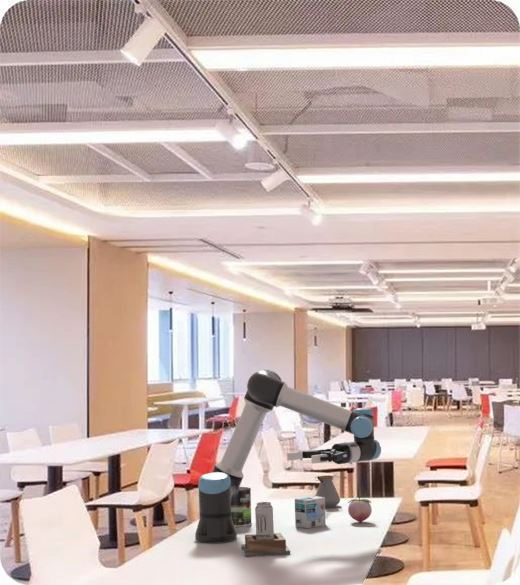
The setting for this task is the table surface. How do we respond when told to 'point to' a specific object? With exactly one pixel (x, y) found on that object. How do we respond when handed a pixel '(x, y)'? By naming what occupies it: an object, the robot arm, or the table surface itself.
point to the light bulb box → (310, 512)
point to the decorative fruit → (359, 509)
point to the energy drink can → (264, 521)
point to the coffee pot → (327, 491)
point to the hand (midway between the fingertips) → (299, 458)
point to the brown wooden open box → (265, 546)
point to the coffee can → (241, 508)
